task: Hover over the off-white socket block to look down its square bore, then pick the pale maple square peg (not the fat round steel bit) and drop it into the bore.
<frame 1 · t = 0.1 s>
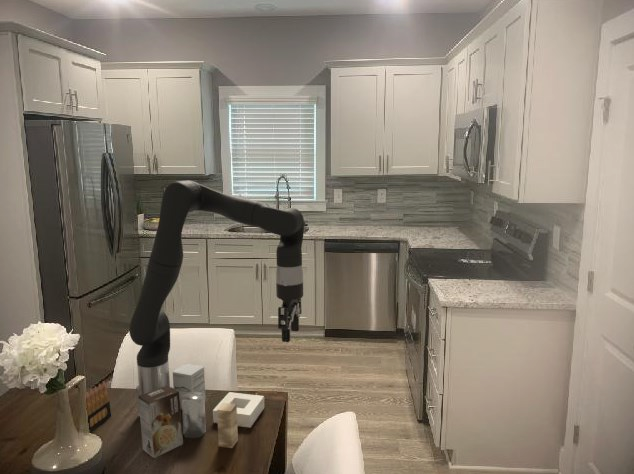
hand: (290, 336, 141), 29 cm above the table, tool pointing down, fingers open, 8 cm apart
square peg: (228, 443, 140), on the table
round steel bit: (194, 432, 146), on the table
ammunition clip: (97, 425, 151), on the table
supplement box: (190, 406, 162), on the table
coffee box: (163, 447, 139), on the table
socket block: (239, 415, 156), on the table
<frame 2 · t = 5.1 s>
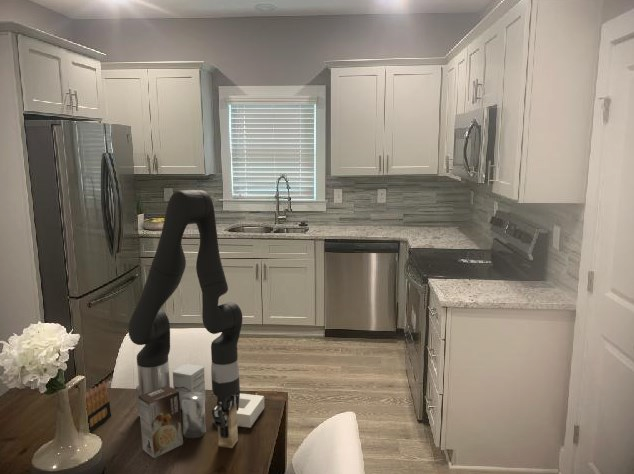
hand: (227, 432, 140), 3 cm above the table, tool pointing down, fingers closed on square peg, 4 cm apart
square peg: (228, 443, 141), on the table, touching gripper
everything else where it was.
when the fingers open (5 cm above the table, at t = 10.7 s): square peg drops 2 cm, resting in socket block.
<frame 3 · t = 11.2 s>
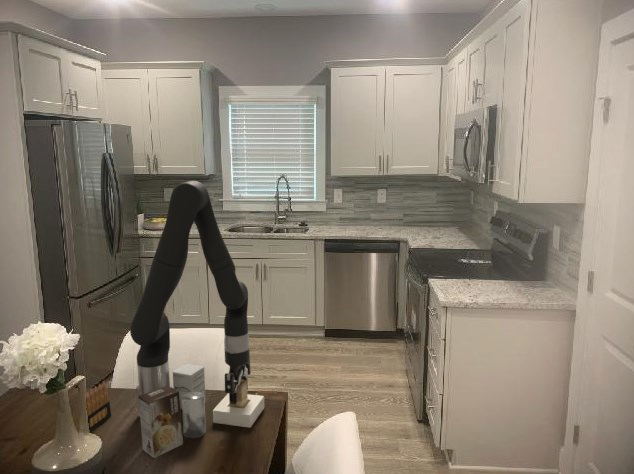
hand: (238, 396, 155), 6 cm above the table, tool pointing down, fingers open, 8 cm apart
square peg: (239, 415, 155), resting in socket block
everything else where it was.
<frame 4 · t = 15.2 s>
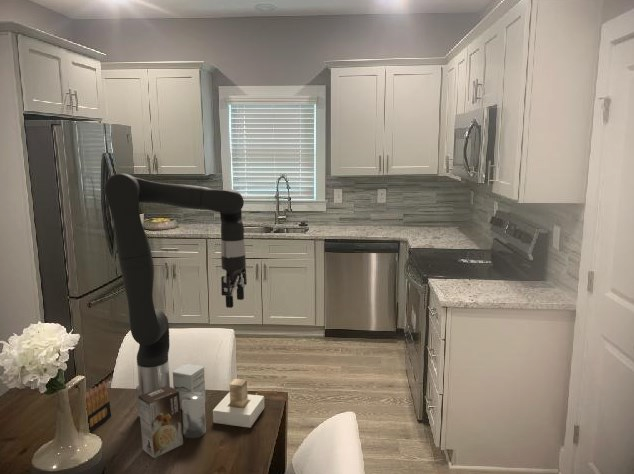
hand: (235, 303, 160), 33 cm above the table, tool pointing down, fingers open, 8 cm apart
nothing on the table moved.
at the end: square peg 0.1 cm off-centre on the socket block, point 0.0 cm above the socket block's base; square peg tilted 0°; round steel bit moved 0.0 cm from its start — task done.
